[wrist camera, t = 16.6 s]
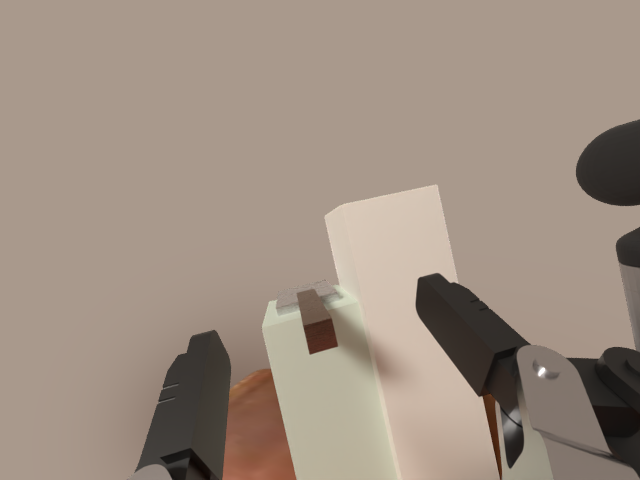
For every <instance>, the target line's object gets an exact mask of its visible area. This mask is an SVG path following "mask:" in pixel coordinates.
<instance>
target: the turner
mask: <svg viewBox="0 0 640 480" xmlns="http://www.w3.org/2000/svg"><path fill="white" fill-rule="evenodd" d="M335 301H339V295H338V291H336V290H335V289H334V288H333V287H332V286H331V285H330V284H329V283H328V282H327V281H326V280H323V281H319V282H315V283H311V284H307V285H303V286H299V287H295V288H291V289H287V290H283V291H279V292H278V297H277V303H276V311H277V315H278V316H282V315H286V314H290V313H293V312H297V311H300V313H301V318H302V323H303V328H304V332H305V337H306V341H307V346H308V350H309V354H310V355H311V354H314V353H318V352H321V351H325V350H328V349H332V348H335V347H338V343H337V339H336V334H335V330H334V325H333V321H332V317H331V316H330V314H329V312H328V311H327V309H326V307H325V306H324V304H328V303H331V302H335Z"/></svg>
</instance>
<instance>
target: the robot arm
mask: <svg viewBox="0 0 640 480" xmlns="http://www.w3.org/2000/svg"><path fill="white" fill-rule="evenodd" d="M576 177H577V180H578V183H579V185H580V186H581V188H582V189H583V190H584V191H585V192H586V193H587V194H588V195H590V196H591V197H592V198H594V199H596V200H598V201H601V202H604V203H607V204H611V205H618V206H634V205H640V120H637V121H633V122H629V123H626V124H623V125H619V126H616V127H614V128H611V129H609V130H607V131H605V132H604V133H602V134H601V135H599V136H598V137H596V138H595V139H594V140H593V141H592V142H591V143H590V144H589V145H588V146H587V147H586V148H585V150H584V151H583V153H582V154H581V156H580V158H579V160H578V163H577V167H576ZM616 251H617V257H618V261H619V266H620V271H621V276H622V282H623V285H624V291H625V296H626V301H627V306H628V311H629V316H630V321H631V326H632V331H633V336H634V341H635V347H636V351H635V350H632V349H628V348H622V347H612V348H608V349H607V350H605V351H604V353H603V354H602V356H601V357H600V358H599V359H588V358H586V359H585V358H565V357H563V356H562V355H561V354H559V353H557V352H555V351H553V350H551V349H548V348H546V347H542V346H537V345H531V344H530V343H528V342H527V341H526V340H525V339H523V338H522V337H521V336H520V335H519V334H518V333H517V332H516V331H515V330H514V329H512V328H511V327H510V326H509V325H508V324H507V323H506V322H505V321H503V320H502V319H501V318H500V317H499V316H498V315H497V314H495V312H493V311H492V310H491V309H489V308H488V306H487V305H486V304H485V303H483V302H482V301H480V300H479V298H478V297H477V296H476V295H474V294H473V293H472V292H471V291H470V290H469V289H467V288H465V287H463V286H461V285H459V284H457V283H455V282H452V283H450V282H449V281H448V280H447V279H446V278H444V277H443V276H442V275H441V274H440V273H434V274H430V275H426V276H422V277H419V278H418V281H417V291H416V302H415V307H416V311H417V314H418V316H419V318H420V319H421V321H422V322H423V324H424V325H425V326H426V328H427V329H428V330H429V332H430V333H431V334H432V336H433V337H434V338H435V340H436V341H437V342H438V344H439V345H440V346H441V348H442V349H443V350H444V352H445V353H446V354H447V356H448V357H449V358H450V360H451V361H452V362H453V364H454V365H455V366H456V368H457V369H458V370H459V372H460V373H461V374H462V376H463V377H464V378H465V380H466V381H467V382H468V384H469V385H470V386H471V388H472V389H473V390H474V392H475V393H476V394H477V396H478V397H481V396H484V395H487V394H490V393H491V395H492V396H493V397H494V398H495V400H496V403H495V409H496V418H497V427H498V436H499V445H500V454H501V463H502V480H640V227H639V228H637V229H635V230H633V231H631V232H629V233H627V234H626V235H624V236H622V237H621V238H620V239H619V240H618V241H617V243H616ZM230 376H231V365H230V359H229V356H228V353H227V352H226V349H225V348H224V345H223V343H222V341H221V339H220V337H219V335H218V333H217V332H216V331H215V330H212V331H208V332H205V333H201V334H197V335H193V336H192V337H191V339H190V342H189V346H188V350H187V353H185V354H181V355H178V356H177V358H176V359H175V361H174V362H173V364H172V365H171V367H170V368H169V370H168V371H167V375H166V378H165V381H164V384H163V390H162V391H161V394H160V397H159V404H158V405H157V407H156V410H155V413H154V416H153V419H152V423H151V426H150V429H149V432H148V435H147V439H146V442H145V445H144V448H143V451H142V455H141V458H140V461H139V463H138V466H137V469H136V470H135V472H134V474H133V475H131V476H130V477H129V478H128V479H127V480H222V476H223V463H224V451H225V439H226V426H227V414H228V402H229V390H230Z"/></svg>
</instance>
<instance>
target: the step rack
mask: <svg viewBox="0 0 640 480" xmlns="http://www.w3.org/2000/svg"><path fill="white" fill-rule="evenodd" d="M324 217H325V222H326V226H327V231H328V235H329V240H330V244H331V249H332V253H333V258H334V262H335V267H336V271H337V275H338V280H339V284H340V286H338V285H333V286H332V287H333V288H334V289H335V290H336V291H338V295H339V301H335V302H331V303H328V304H324V306H325V307H326V309H327V311H328V312H329V314H330V316H331V317H332V321H333V325H334V330H335V334H336V339H337V343H338V347H335V348H332V349H328V350H325V351H321V352H318V353H314V354H311V355H310V354H309V350H308V346H307V341H306V337H305V332H304V328H303V323H302V318H301V313H300V311H297V312H293V313H290V314H286V315H282V316H278V315H277V311H276V303H277V300H274V301H270V302H269V304H268V308H267V311H266V315H265V318H264V322H263V325H262V331H263V335H264V340H265V344H266V348H267V353H268V357H269V361H270V366H271V370H272V374H273V379H274V383H275V387H276V392H277V396H278V400H279V404H280V409H281V413H282V417H283V422H284V426H285V430H286V435H287V439H288V443H289V448H290V452H291V456H292V461H293V465H294V469H295V474H296V478H297V480H500V477H499V472H498V467H497V463H496V458H495V453H494V449H493V444H492V439H491V435H490V430H489V425H488V420H487V416H486V411H485V406H484V402H483V397H482V396H481V397H478V396H477V394H476V393H475V392H474V390H473V389H472V388H471V386H470V385H469V384H468V382H467V381H466V380H465V378H464V377H463V376H462V374H461V373H460V372H459V370H458V369H457V368H456V366H455V365H454V364H453V362H452V361H451V360H450V358H449V357H448V356H447V354H446V353H445V352H444V350H443V349H442V348H441V346H440V345H439V344H438V342H437V341H436V340H435V338H434V337H433V336H432V334H431V333H430V332H429V330H428V329H427V328H426V326H425V325H424V324H423V322H422V321H421V319H420V318H419V316H418V314H417V311H416V307H415V302H416V291H417V281H418V278H419V277H422V276H426V275H430V274H434V273H440V274H441V275H442V276H443V277H444V278H446V279H447V280H448V281H449V282H450V283H452V282H455V283H457V284H458V280H457V275H456V271H455V266H454V261H453V256H452V251H451V247H450V242H449V237H448V233H447V228H446V223H445V219H444V215H443V210H442V205H441V200H440V195H439V191H438V186H437V185H432V186H427V187H422V188H418V189H413V190H409V191H403V192H399V193H394V194H389V195H384V196H380V197H375V198H370V199H366V200H362V201H356V202H351V203H347V204H342V205H340V206H339V207H337V208H336V209H334V210H333V211H331V212H330V213H328V214H327V215H325V216H324Z"/></svg>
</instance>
